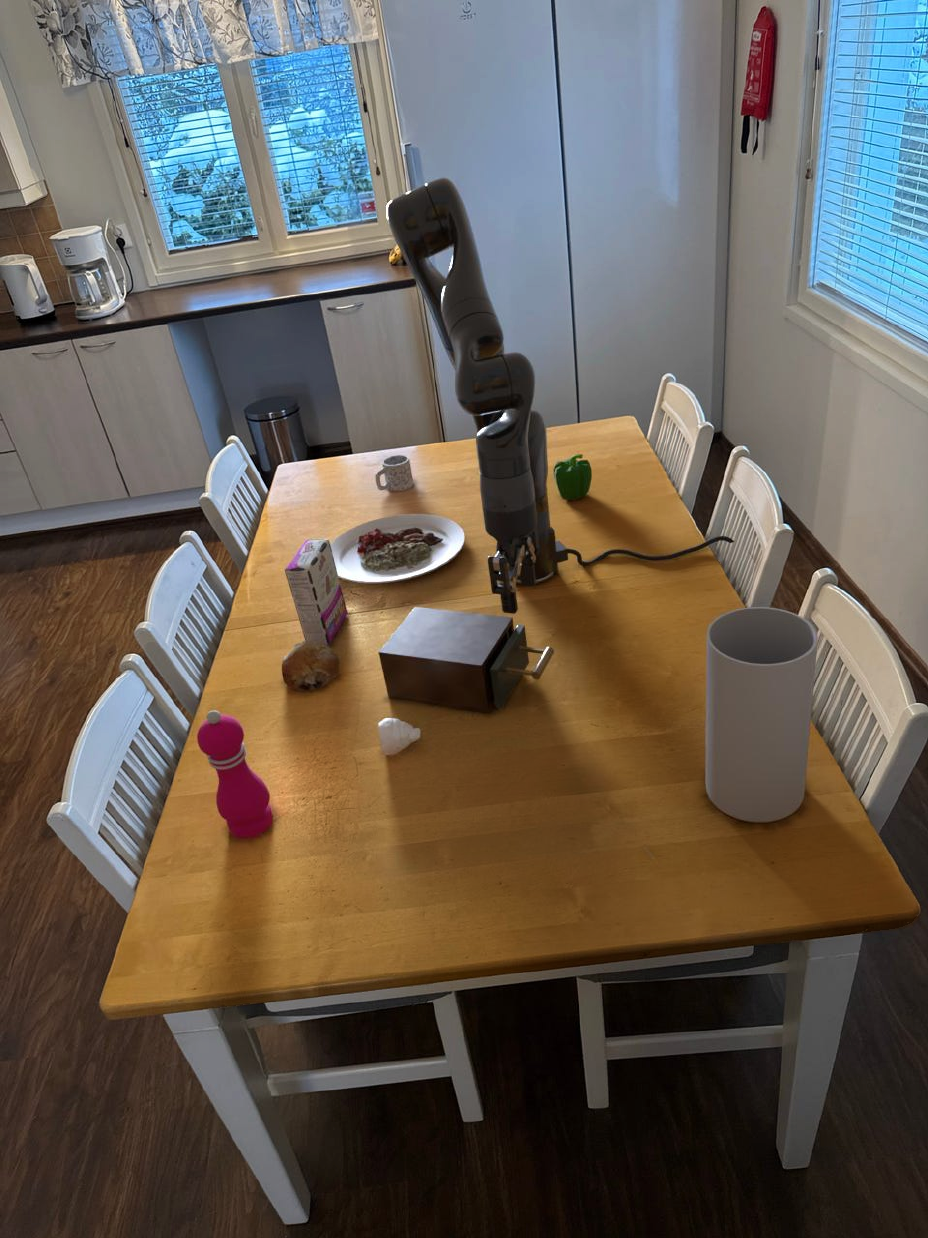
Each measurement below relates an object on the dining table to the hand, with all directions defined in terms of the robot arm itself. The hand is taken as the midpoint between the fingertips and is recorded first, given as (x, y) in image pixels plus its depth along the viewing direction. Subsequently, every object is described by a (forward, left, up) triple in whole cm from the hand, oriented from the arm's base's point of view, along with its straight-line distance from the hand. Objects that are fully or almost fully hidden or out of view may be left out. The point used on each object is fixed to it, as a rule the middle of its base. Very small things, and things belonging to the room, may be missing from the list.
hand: (519, 598), depth 136 cm
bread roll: (+32, -22, -18) cm, 43 cm away
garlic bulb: (+22, +4, -18) cm, 29 cm away
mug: (0, -93, -18) cm, 94 cm away
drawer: (+6, -5, -17) cm, 19 cm away
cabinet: (+10, -9, -18) cm, 22 cm away
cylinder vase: (-19, +34, -18) cm, 43 cm away
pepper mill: (+46, +10, -18) cm, 51 cm away
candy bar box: (+27, -36, -18) cm, 48 cm away
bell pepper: (-35, -64, -18) cm, 75 cm away
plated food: (+8, -59, -18) cm, 62 cm away
